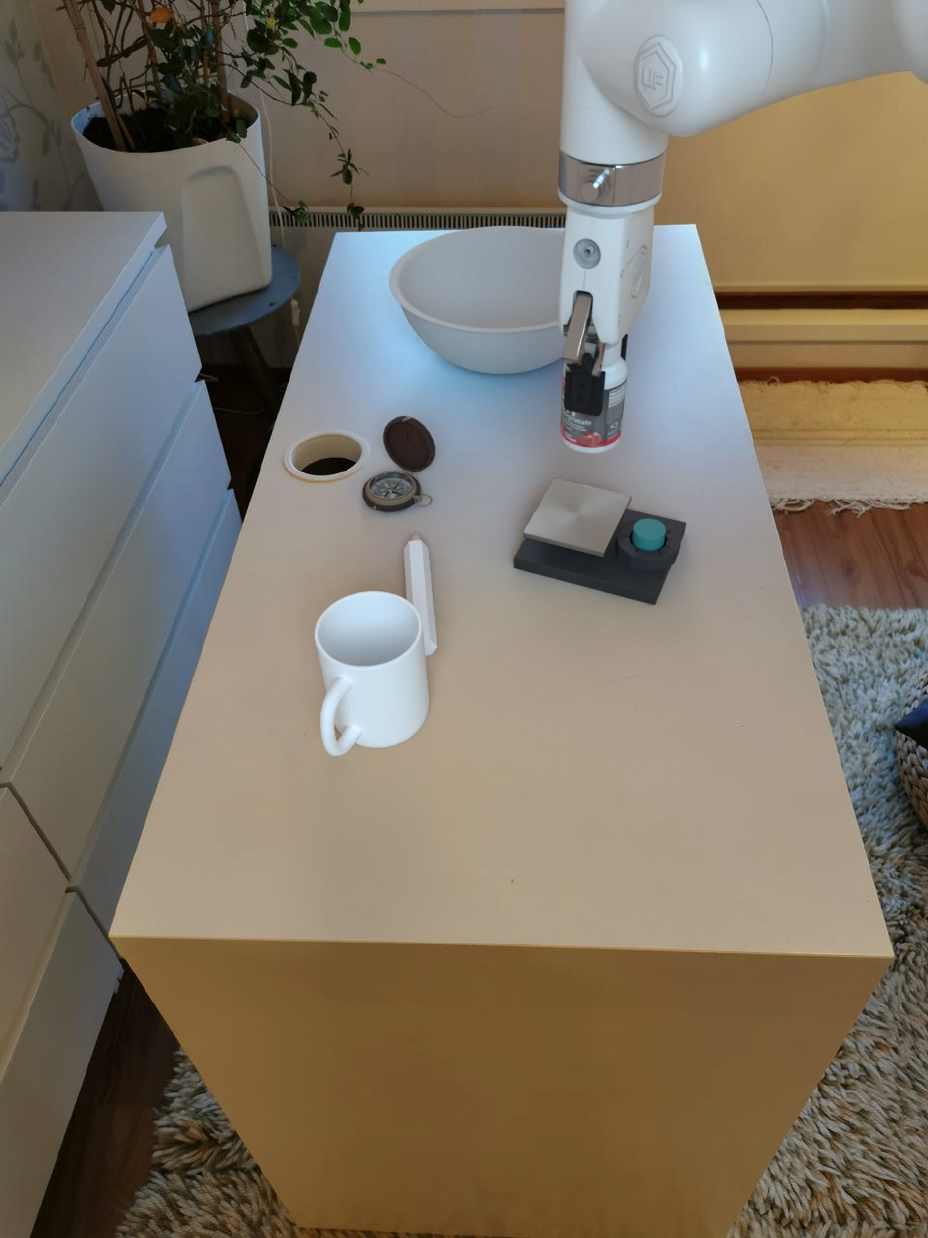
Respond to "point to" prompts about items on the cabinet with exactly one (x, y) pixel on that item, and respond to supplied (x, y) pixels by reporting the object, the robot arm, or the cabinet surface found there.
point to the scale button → (648, 534)
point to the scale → (609, 561)
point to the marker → (420, 588)
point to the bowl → (485, 297)
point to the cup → (371, 671)
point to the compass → (401, 466)
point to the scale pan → (578, 517)
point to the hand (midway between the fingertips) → (594, 390)
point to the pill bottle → (607, 427)
